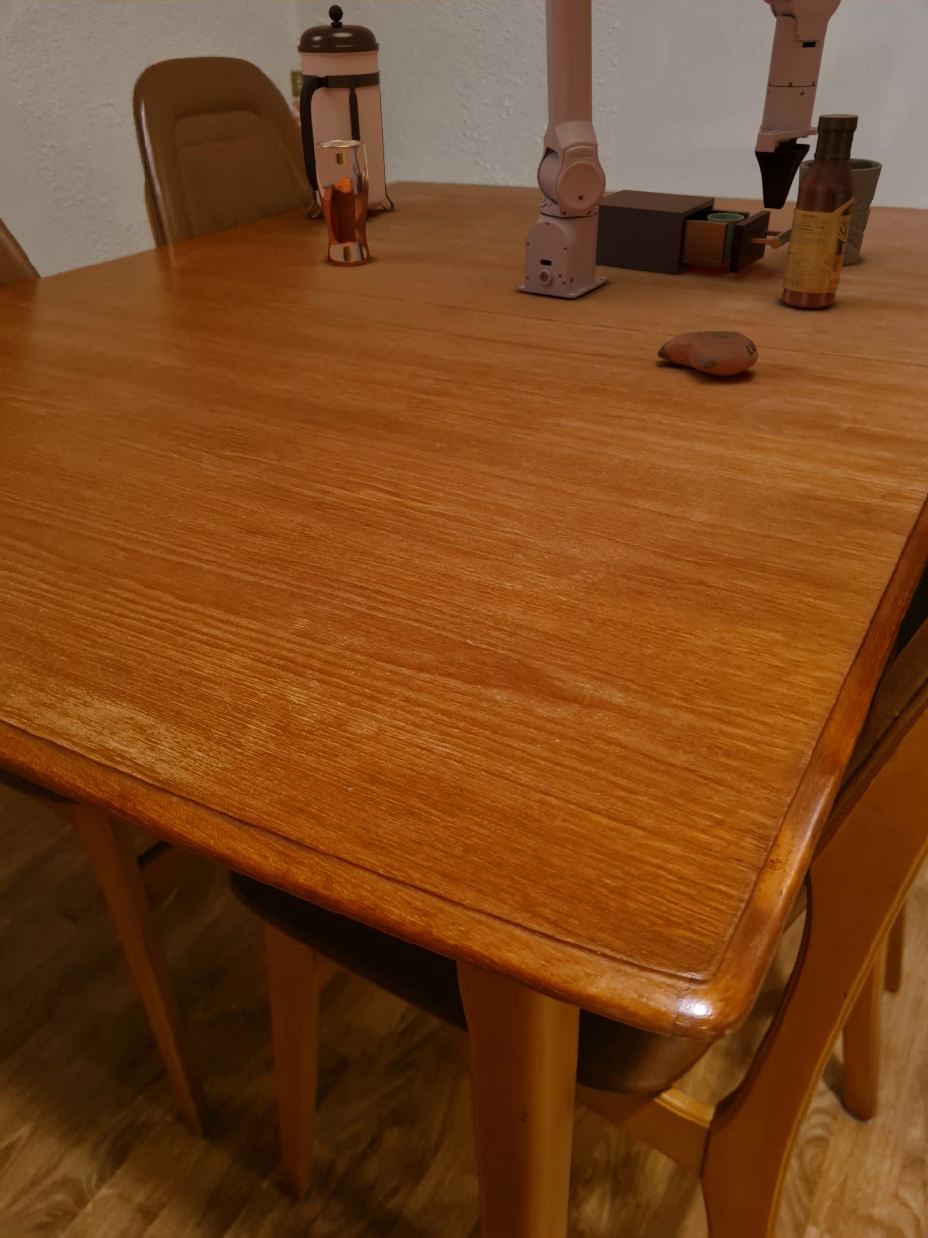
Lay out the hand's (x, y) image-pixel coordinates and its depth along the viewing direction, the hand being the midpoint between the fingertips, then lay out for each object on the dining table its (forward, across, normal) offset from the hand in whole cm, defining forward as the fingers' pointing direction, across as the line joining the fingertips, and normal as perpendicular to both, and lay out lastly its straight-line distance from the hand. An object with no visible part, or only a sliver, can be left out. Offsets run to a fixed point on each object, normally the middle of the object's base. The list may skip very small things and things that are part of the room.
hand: (773, 207), depth 121 cm
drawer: (+7, 0, +6) cm, 9 cm away
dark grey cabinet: (+8, 0, +17) cm, 18 cm away
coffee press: (+8, +4, +73) cm, 73 cm away
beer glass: (+8, -21, +53) cm, 57 cm away
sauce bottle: (+8, -11, -9) cm, 16 cm away
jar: (+6, 0, +6) cm, 9 cm away
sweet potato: (+8, -39, -7) cm, 41 cm away
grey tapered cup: (+8, +12, -4) cm, 15 cm away
